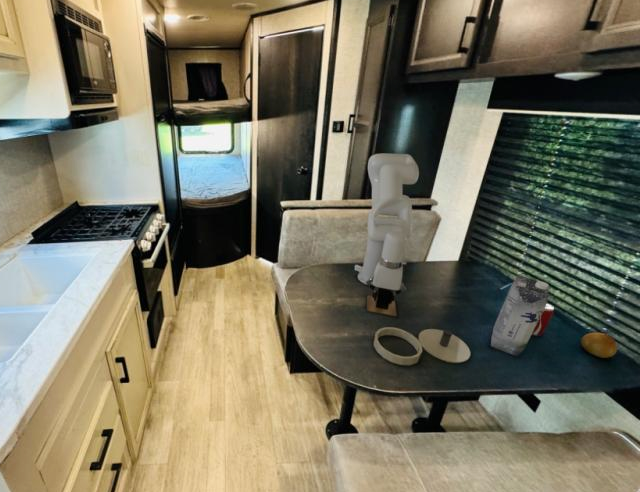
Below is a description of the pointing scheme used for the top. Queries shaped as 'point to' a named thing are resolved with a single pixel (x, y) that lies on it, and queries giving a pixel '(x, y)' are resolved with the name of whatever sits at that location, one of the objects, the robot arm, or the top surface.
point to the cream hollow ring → (393, 357)
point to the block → (383, 298)
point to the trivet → (373, 308)
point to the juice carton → (519, 315)
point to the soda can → (543, 320)
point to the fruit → (599, 344)
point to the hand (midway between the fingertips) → (382, 300)
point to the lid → (444, 345)
